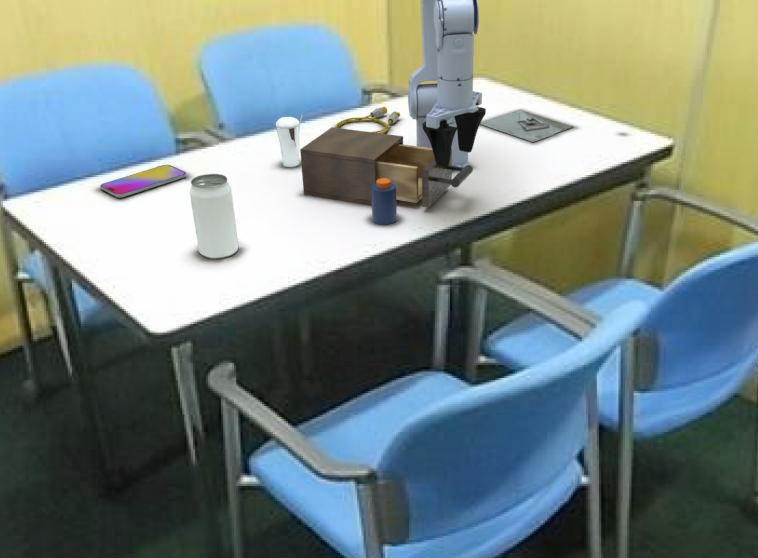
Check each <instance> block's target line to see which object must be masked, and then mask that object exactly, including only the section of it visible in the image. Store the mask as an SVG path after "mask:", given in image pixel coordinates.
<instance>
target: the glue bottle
mask: <svg viewBox="0 0 758 558" xmlns="http://www.w3.org/2000/svg"><path fill="white" fill-rule="evenodd" d="M371 198H372V205H371V220H372V222H373V223H374V224H377V225H381V226H382V225H384V226H386V225H387V226H388V225H391V224H395V223H396V222H397V221H398V219H397V218H398V213H397V212H398V208H397V207H398V206H397V200H396V185H395V184H393V183H391V181H390V179H387V178H381V179H378V180H377V181H376V183H375V184H373V185H372V186H371Z"/></svg>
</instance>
